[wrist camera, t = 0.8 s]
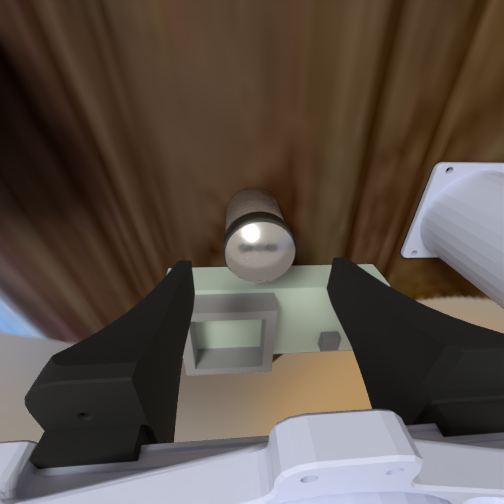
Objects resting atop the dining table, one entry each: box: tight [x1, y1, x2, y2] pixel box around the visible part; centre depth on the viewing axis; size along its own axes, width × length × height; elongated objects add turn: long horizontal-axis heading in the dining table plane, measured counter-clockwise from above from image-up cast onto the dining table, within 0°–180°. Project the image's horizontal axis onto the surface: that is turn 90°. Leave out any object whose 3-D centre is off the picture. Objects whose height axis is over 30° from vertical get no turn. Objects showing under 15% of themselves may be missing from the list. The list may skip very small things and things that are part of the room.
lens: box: [224, 188, 296, 283], centre depth 17 cm, size 4×4×6 cm
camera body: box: [166, 264, 390, 376], centre depth 23 cm, size 18×8×5 cm, turn 88°
